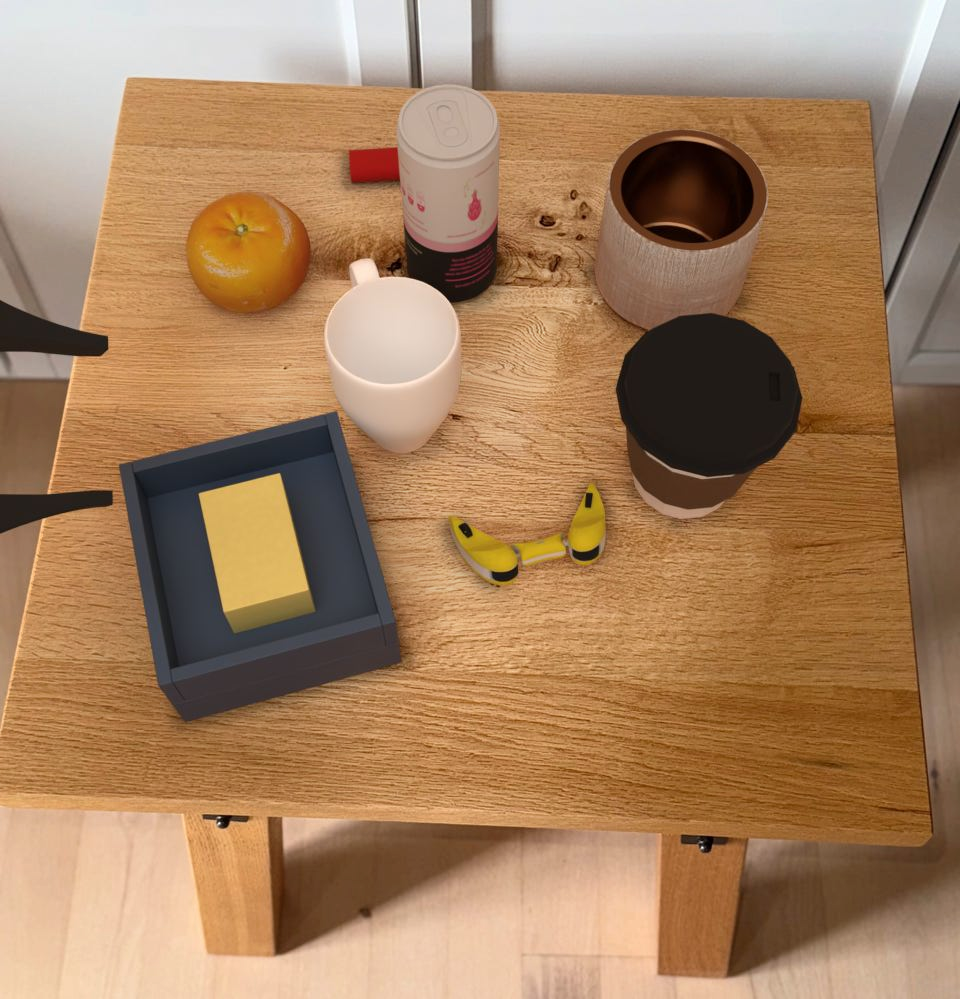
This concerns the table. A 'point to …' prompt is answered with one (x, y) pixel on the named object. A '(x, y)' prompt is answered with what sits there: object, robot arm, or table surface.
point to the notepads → (256, 553)
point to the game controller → (533, 544)
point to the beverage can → (450, 189)
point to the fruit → (248, 252)
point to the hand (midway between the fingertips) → (107, 422)
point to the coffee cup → (704, 410)
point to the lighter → (374, 165)
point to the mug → (393, 357)
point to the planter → (678, 226)
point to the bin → (193, 585)
